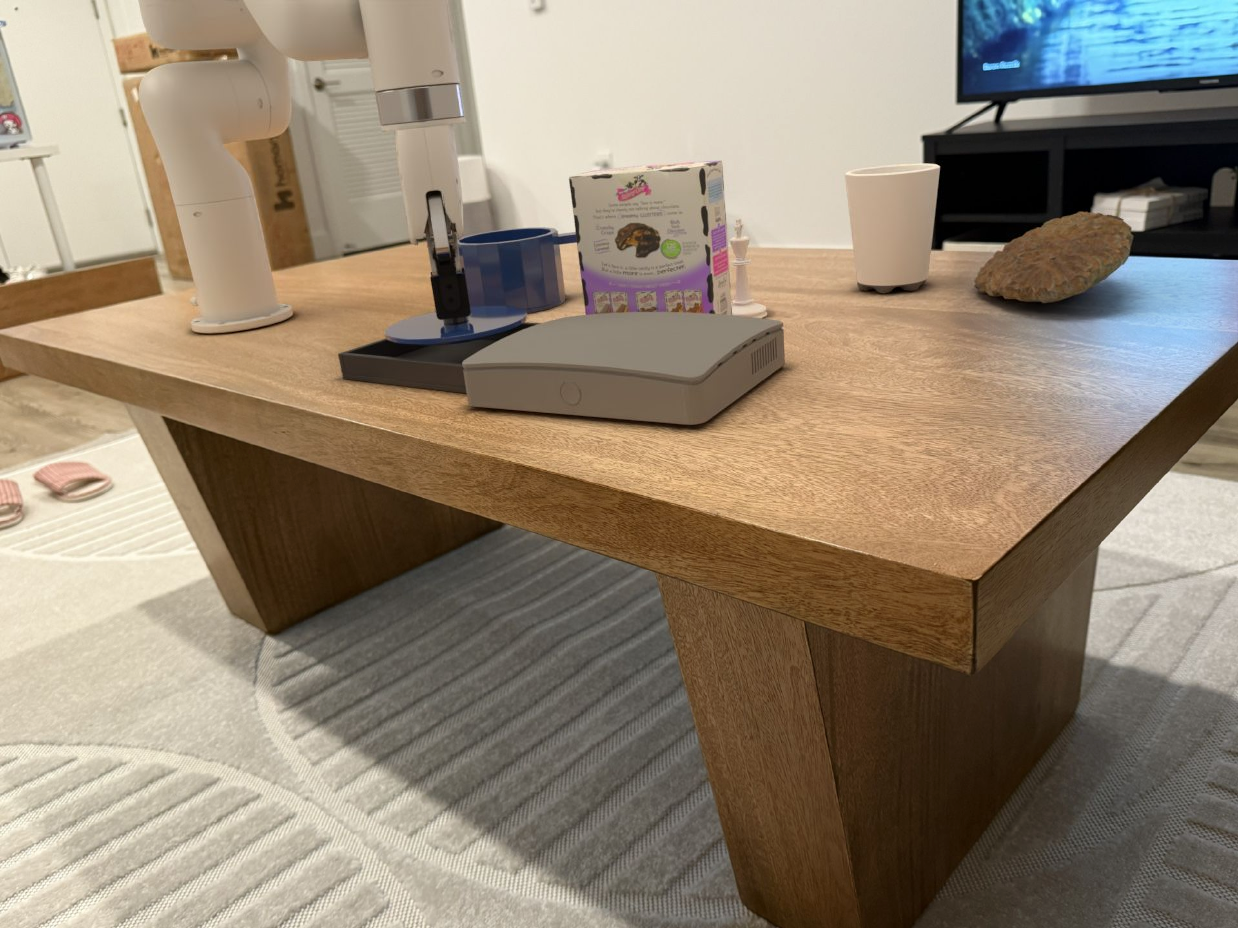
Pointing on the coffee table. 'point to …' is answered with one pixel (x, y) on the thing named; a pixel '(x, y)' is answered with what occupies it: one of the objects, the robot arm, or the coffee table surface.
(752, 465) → the coffee table surface
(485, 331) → the lid
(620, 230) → the candy box
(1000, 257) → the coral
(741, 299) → the chess piece
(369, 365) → the tray
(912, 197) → the cup
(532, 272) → the pot
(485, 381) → the electronic device
